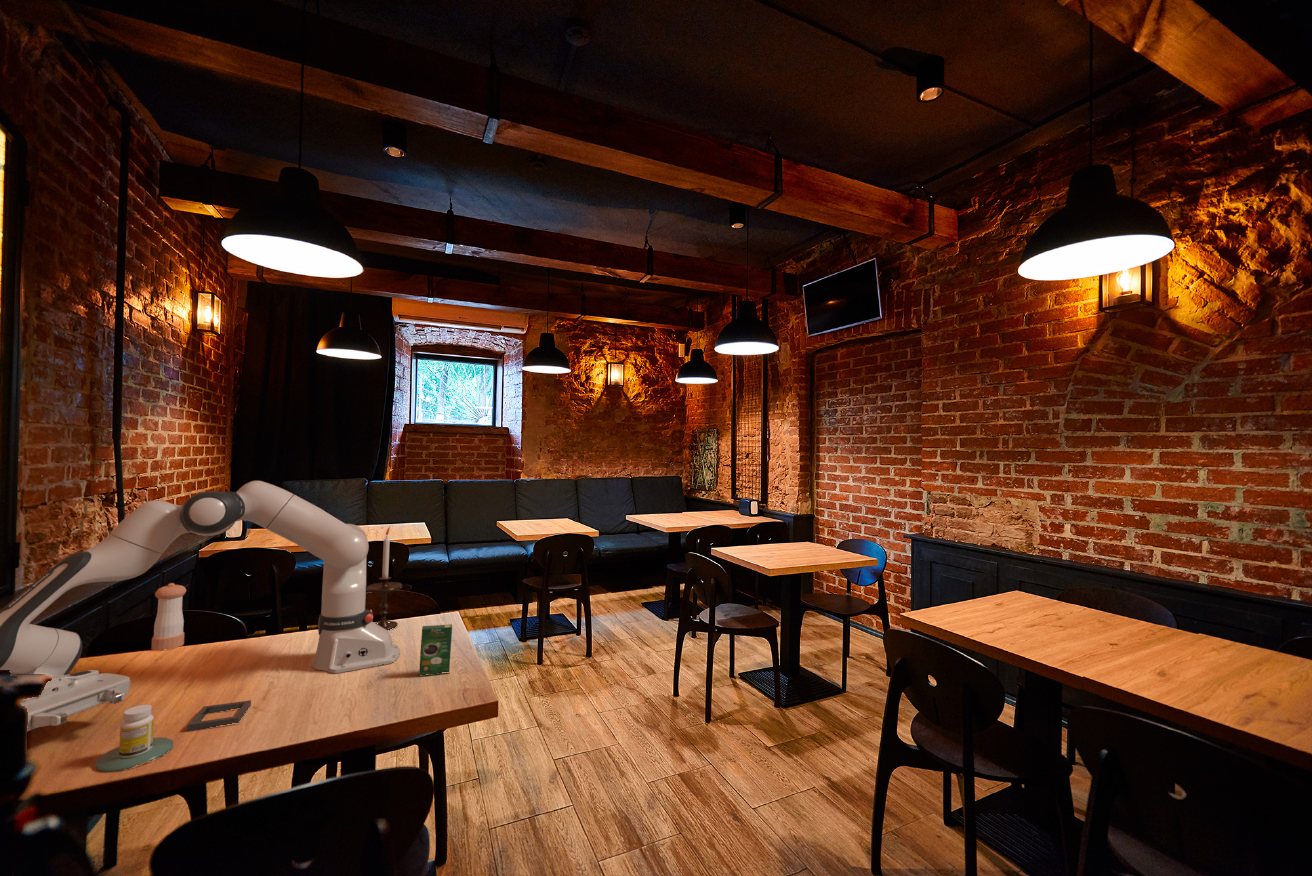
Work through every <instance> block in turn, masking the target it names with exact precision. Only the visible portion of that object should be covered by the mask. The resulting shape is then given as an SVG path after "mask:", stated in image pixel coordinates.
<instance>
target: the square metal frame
mask: <svg viewBox="0 0 1312 876" xmlns="http://www.w3.org/2000/svg"><path fill="white" fill-rule="evenodd" d="M250 706H252V700H251V699H250V700H241V701H235V702H227V703H218V704H213V705H204V706H203V707H202V708H201V709H200V710H199V711H198V712H197V713H196V714H195V715H194V717H193V718H192V719H191V720H190V721H189V722H188V724H187V725H186V732H187V733H188V732H195V731H201V729H202V730H207V729H206V728H209V729H211V728H210V727H216V726H220V725H227V724H232V723H240V722H241V721H242V720H241V718H242V717H243V716H244V717H245V715H246V714H247V712H248V711H249V710H248V708H249V707H250ZM237 708H240V709H239V710H238V711H237V713H236V714H235V715H234V716H229V717H222V718H214V719H208V720H207V719H206V720H203V719H204V718H205V717H206V714H207V715H208V713H210V714H215V713H214V712H217V713H221V712H220V711H224V712H227V711H226V710H231V709H237ZM250 708H251V707H250ZM250 708H249V709H250ZM247 710H248V711H247ZM246 711H247V712H246ZM245 713H246V714H245ZM244 714H245V715H244ZM244 717H243V718H244ZM243 718H242V719H243ZM240 720H241V721H240ZM239 721H240V722H239ZM216 728H217V727H216Z"/></svg>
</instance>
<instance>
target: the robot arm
mask: <svg viewBox="0 0 1312 876" xmlns="http://www.w3.org/2000/svg"><path fill="white" fill-rule="evenodd" d="M239 521H246V522H247V521H248V522H251V523H253V524H256V525H258V526H260V527H261V528H264V529H266V530H268V531H270V532H271V533H272V534H273V533H274V534H275V535H278V536H280V537H281V538H283V539H286V540H288V541H290V542H292V543H294V544H295V545H297V546H299V547H300V548H302V549H303V550H305V551H307V552H308V553H310V554H312V555H313V556H315V557H317V558H318V559H320V560H321V561H323V572H322V573H323V575H322V585H321V590H322V592H321V612H320V614H319V615H318V616H319V617H318V624H317V625H318V629H317V631H318V636H319V637H318V642H317V647H316V652H315V655H314V657H313V661H312V664H311V666H312V668H313V669H315V670H319V671H325V672H329V673H331V674H339V673H345V672H350V671H356V670H363V669H368V668H373V667H377V666H378V665H379V666H383V665H382V664H384V665H389V664H392V662H393V663H394V662H396V661H397V660H398V659H399V658H400V656H399V655H401V648H400V647H399V645H396V644H393V639H392V636H391V633H390V630H389V631H388V630H386V629H384V628H382V627H381V626H379V625H377V624H376V622H374V621H373V619H374V615H373V610H372V609H370V610H369V609H368V608H366V596H367V594H366V593H367V556H368V552H369V548H370V547H369V541H368V537H367V534H366V532H365V531H364V530H363V528H361V527H360V526H359V525H356V524H353V523H345V522H344V521H342V520H340V519H338V518H336V517H334V516H333V515H331V514H330V513H329V512H326V511H325V510H324V509H322V508H320V507H318V506H316V505H315V504H313V503H312V502H309V501H307V500H305V499H303V498H301V497H300V496H297V495H296V494H294V493H292V492H290V491H288V490H286V489H284V488H281V487H279V486H276V485H274V484H271V483H269V482H265V481H262V480H251V481H249V482H247V483H245V484H244V485H242V486H241V487H240V488H238V490H237V491H236V492H235V491H220V490H219V491H218V490H217V491H216V490H208V491H202V492H199V493H196V494H194V495H192V496H190V497H189V498H188V499H186V500H185V502H183V504H180V505H179V504H174V503H171V502H168V501H165V500H148V501H146V502H143V503H142V504H140V505H139V506H138V507H136V508H135V509H134V510H133V511H132V512H130V513H128V515H127V516H126V517H125V518H124V519H122V520H121V521H120V522H119V523H118V524H116V526H115V527H114V528H113V529H112V530H111V532H110V533H109V534H107V536H106V537H105V538H104V539H103V540H101V541H100V542H98V543H97V544H96V545H94V546H92V547H90V548H88V549H86V550H84V551H78V552H74V553H72V554H70V555H68V556H66V557H65V558H63V559H62V560H60V561H59V562H57V564H56V565H54V566H53V567H51V568H49V570H48V571H46V572H45V573H44V574H42V576H40V577H39V578H38V579H36V580H35V581H34V582H33V583H32V584H30V585H29V586H28V587H27V588H26V589H24V590H23V591H22V592H20V593H19V594H18V595H17V596H16V597H15V598H14V599H12V600H11V601H10V602H9V603H7V605H5V606H4V607H3V608H1V610H0V670H10V671H9V672H10V673H11V674H10V676H17V675H22V674H45V675H46V676H49V677H51V678H52V680H51V681H48V682H47V683H46V685H45V687H44V690H43V691H42V693H41V695H39V697H32V698H27V699H23V700H21V702H20V704H21V705H22V706H25V708H27V712H28V726H27V732H29V731H32V730H35V729H37V728H42V727H48V726H54V727H57V726H60V725H62V724H65V723H67V721H68V719H67V718H68V717H70V716H73V715H75V714H78V713H81V712H83V711H86V710H89V709H92V708H95V707H98V706H100V705H103V704H106V703H108V702H109V704H113V705H114V704H119V703H121V702H124V701H125V696H128V694H130V690H131V678H130V677H129V676H126V675H123V674H116V673H107V672H106V673H105V672H104V673H99V670H97V669H89V670H84V671H80V672H76V673H75V672H73V673H70V672H71V671H72V670H73V669H74V668H75V666H76V665H77V663H78V661H79V660H80V658H81V655H82V653H83V641H82V639H81V637H80V635H79V634H78V633H77V632H73V631H69V630H64V629H60V628H54V627H47V626H42V625H37V624H32V623H31V622H32V621H34V619H36V618H37V617H38V616H39V615H40V614H41V613H43V612H44V611H45V610H46V609H48V608H49V607H50V605H52V604H53V603H54V602H55V601H57V599H59V598H60V597H61V596H62V595H64V594H65V593H67V591H70V590H71V589H73V588H76V587H78V586H79V587H80V586H81V585H86V584H91V583H103V582H105V583H106V582H107V583H108V582H120V581H126V580H131V579H133V578H137V577H139V576H141V575H143V574H145V573H146V572H147V571H148V570H149V569H151V568H152V567H153V566H154V565H155V564H156V562H157V561H158V560H159V559H160V557H161V556H162V555H163V554H164V553H165V551H166V550H167V549H168V548H169V546H170V545H171V544H172V543H173V542H174V541H175V540H176V539H177V538H179V537H180V536H181V535H184V534H188V535H196V536H201V537H202V536H204V537H210V536H211V537H213V536H219V535H221V534H224V533H225V532H228V530H230V529H231V528H232V527H233V526H234V524H235V523H236V522H239ZM398 657H399V658H398ZM397 658H398V659H397ZM395 660H396V661H395ZM372 666H373V667H372ZM379 666H378V667H379Z"/></svg>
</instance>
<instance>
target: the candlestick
mask: <svg viewBox="0 0 1312 876" xmlns="http://www.w3.org/2000/svg"><path fill="white" fill-rule="evenodd" d="M390 528H391V526H388V528H387V531H386V533H385V538H384V539H383V550H382V572H381V573H382V574H381V577H379V578H378V580H381V582H377V583H376V582H375V583H372V584H369V585H366V592H369V593H374V594H375V593H377V594H378V593H379V594H381V603H380V604H379V609H380V612H379V615H380V616H381V617H380V618H381V619H380V620H379V621H376V622H375V623H376V624H377V623H378V624H377V625H379V626H381V627H382V628H384V629H386V630H389V631H391V630H390V629H392V628H395V627H396V626H397V627H398V625H399V624H398V622H397V621H396V620H395V621H393V620H387V618H386V616H387V614H388V611H387V609H388V607H389V603H387V594H388V593H390V592H395V591H399V590H401V589H402V587H403V583H401V582H399V581H397V582H396V581H389V580H391V579H392V577H391V576H389V566H390V565H389V564H390V542H391V540H390V538H389V532H390V530H391V529H390ZM388 622H390V623H388ZM397 627H396V628H397ZM396 628H395V629H396ZM392 630H393V629H392Z"/></svg>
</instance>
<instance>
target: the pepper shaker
mask: <svg viewBox="0 0 1312 876" xmlns="http://www.w3.org/2000/svg"><path fill="white" fill-rule="evenodd" d="M186 592H187V588H186V587H185V586H184V585H180V584H175V583H174V582H170V583H168V584H167V585H165V586H162V587H159V588H158V589H157V590H156V591H155V593H154V596H155V597H156V599H158V600H157V601H158V603H157V613H156V617H155V621H154V626H153V628H154V629H153V636H152V638H151V647H150V649H151V650H152V651H154V652H156V650H162V651H165V650H164V649H169V650H173V649H177V648H180V647H182V646H184V644H185V632H184V623H185V620H184V614H183V613H184V612H183V596H184V595H185V594H186Z"/></svg>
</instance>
